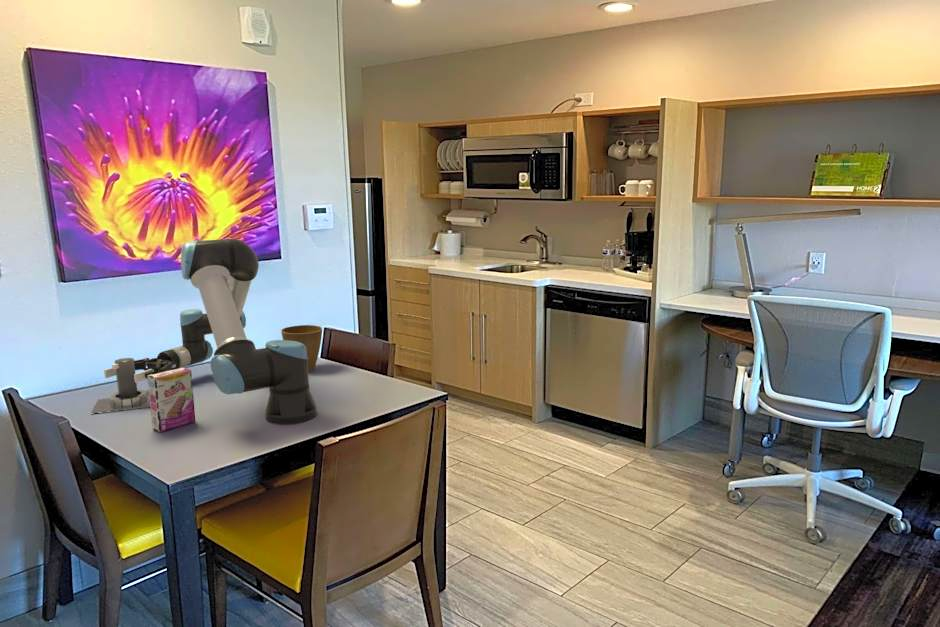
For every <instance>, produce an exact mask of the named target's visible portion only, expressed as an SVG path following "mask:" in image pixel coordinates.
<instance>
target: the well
mask: <svg viewBox="0 0 940 627" xmlns="http://www.w3.org/2000/svg"><path fill="white" fill-rule="evenodd" d="M137 391H138V396H135V397H131V398H119V393H118V391H117V392H115V393H113V394H111V395H110V396H109V397H108V398H99V399H97V401H96V402H95V405H94V406H93V408H92V411H91V412H90V414H91V413H98V412H107V411H116V410H124V409H134V410H136V409H135V408H142V409H147V408H146V407H150V397H149V393H147V390H144V389H137ZM100 399H101V400H100Z"/></svg>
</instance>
